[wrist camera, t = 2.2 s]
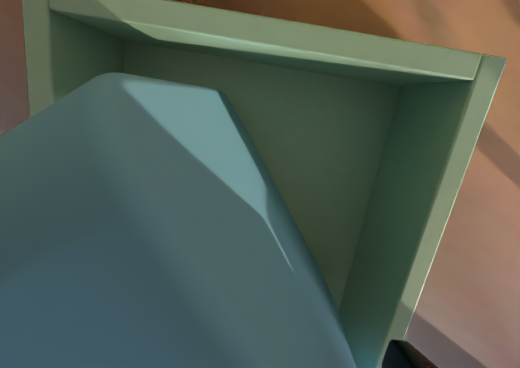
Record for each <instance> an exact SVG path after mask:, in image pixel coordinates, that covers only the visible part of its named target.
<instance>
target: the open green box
mask: <svg viewBox="0 0 520 368" xmlns="http://www.w3.org/2000/svg"><path fill="white" fill-rule="evenodd" d="M22 10H23V25H24V39H25V54H26V68H27V83H28V98H29V112H30V117H32V116H33V115H35V114H36V113H38V112H40V111H41V110H43V109H44V108H46V107H48V106H49V105H51V104H53V103H54V102H56V101H57V100H59V99H61V98H62V97H64V96H65V95H67V94H69V93H70V92H72V91H74V90H75V89H77V88H78V87H80V86H82V85H83V84H85V83H86V82H88V81H90V80H91V79H93V78H95V77H96V76H99V75H102V74H106V73H112V72H114V73H125V74H131V75H137V76H143V77H149V78H154V79H160V80H166V81H172V82H178V83H183V84H189V85H195V86H201V87H207V88H212V89H218V90H220V91H222V92H223V93H224V94H225V96H226V97H227V98H228V100H229V101H230V103H231V104H232V106H233V108H234V109H235V111H236V113H237V114H238V116H239V118H240V120H241V122H242V124H243V125H244V127H245V129H246V131H247V133H248V135H249V137H250V138H251V140H252V142H253V144H254V146H255V148H256V150H257V152H258V153H259V155H260V157H261V159H262V161H263V163H264V165H265V167H266V168H267V170H268V172H269V174H270V176H271V178H272V180H273V181H274V183H275V185H276V187H277V189H278V191H279V193H280V195H281V196H282V198H283V200H284V202H285V204H286V206H287V208H288V209H289V211H290V213H291V215H292V217H293V219H294V221H295V223H296V224H297V226H298V228H299V230H300V232H301V234H302V236H303V237H304V239H305V241H306V243H307V245H308V247H309V249H310V251H311V252H312V254H313V256H314V258H315V260H316V262H317V264H318V266H319V268H320V270H321V272H322V274H323V276H324V278H325V280H326V283H327V285H328V287H329V290H330V292H331V295H332V298H333V301H334V304H335V307H336V309H337V312H338V315H339V318H340V321H341V324H342V327H343V330H344V333H345V336H346V339H347V341H348V344H349V347H350V350H351V353H352V356H353V359H354V362H355V365H356V368H382V361H383V358H384V355H385V352H386V349H387V346H388V343H389V341H390V340H392V339H396V340H404V338H405V335H406V333H407V330H408V327H409V325H410V322H411V319H412V316H413V314H414V311H415V308H416V306H417V303H418V300H419V297H420V295H421V292H422V289H423V287H424V284H425V281H426V278H427V276H428V273H429V270H430V268H431V265H432V262H433V259H434V257H435V254H436V251H437V249H438V246H439V243H440V240H441V238H442V235H443V232H444V230H445V227H446V224H447V221H448V219H449V216H450V213H451V211H452V208H453V205H454V202H455V200H456V197H457V194H458V191H459V189H460V186H461V183H462V181H463V178H464V175H465V172H466V170H467V167H468V164H469V162H470V159H471V156H472V153H473V151H474V148H475V145H476V143H477V140H478V137H479V134H480V132H481V129H482V126H483V124H484V121H485V118H486V115H487V113H488V110H489V107H490V105H491V102H492V99H493V96H494V94H495V91H496V88H497V86H498V83H499V80H500V77H501V75H502V72H503V69H504V67H505V64H506V61H507V59H506V58H504V57H499V56H493V55H487V54H483V55H482V54H480V53H476V52H470V51H464V50H459V49H453V48H447V47H441V46H435V45H429V44H424V43H418V42H412V41H406V40H400V39H395V38H389V37H383V36H377V35H371V34H366V33H360V32H354V31H348V30H342V29H336V28H331V27H325V26H319V25H313V24H307V23H302V22H296V21H290V20H284V19H278V18H273V17H267V16H261V15H255V14H249V13H243V12H238V11H232V10H226V9H220V8H214V7H209V6H203V5H197V4H191V3H185V2H179V1H174V0H22Z"/></svg>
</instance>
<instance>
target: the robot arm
mask: <svg viewBox="0 0 520 368" xmlns="http://www.w3.org/2000/svg"><path fill="white" fill-rule="evenodd" d="M382 368H438V367H437V366H436V365H434V364H433V363H432V362H431V361H430V360H428V359H427V358H426V357H425V356H424V355H423V354H421V353H420V352H419V351H418V350H417V349H415V348H414V347H413V346H412V345H411V344H410V343H408V342H407V341H404V340H396V339H392V340H390V341H389V343H388V346H387V349H386V352H385V355H384V358H383V361H382Z"/></svg>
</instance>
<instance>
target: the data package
mask: <svg viewBox="0 0 520 368" xmlns="http://www.w3.org/2000/svg"><path fill="white" fill-rule="evenodd" d="M0 368H356V365H355V362H354V359H353V356H352V353H351V350H350V347H349V344H348V341H347V339H346V336H345V333H344V330H343V327H342V324H341V321H340V318H339V315H338V312H337V309H336V307H335V304H334V301H333V298H332V295H331V292H330V290H329V287H328V285H327V283H326V280H325V278H324V276H323V274H322V272H321V270H320V268H319V266H318V264H317V262H316V260H315V258H314V256H313V254H312V252H311V251H310V249H309V247H308V245H307V243H306V241H305V239H304V237H303V236H302V234H301V232H300V230H299V228H298V226H297V224H296V223H295V221H294V219H293V217H292V215H291V213H290V211H289V209H288V208H287V206H286V204H285V202H284V200H283V198H282V196H281V195H280V193H279V191H278V189H277V187H276V185H275V183H274V181H273V180H272V178H271V176H270V174H269V172H268V170H267V168H266V167H265V165H264V163H263V161H262V159H261V157H260V155H259V153H258V152H257V150H256V148H255V146H254V144H253V142H252V140H251V138H250V137H249V135H248V133H247V131H246V129H245V127H244V125H243V124H242V122H241V120H240V118H239V116H238V114H237V113H236V111H235V109H234V108H233V106H232V104H231V103H230V101H229V100H228V98H227V97H226V96H225V94H224V93H223V92H222V91H220V90H218V89H212V88H207V87H201V86H195V85H189V84H183V83H178V82H172V81H166V80H160V79H154V78H149V77H143V76H137V75H131V74H125V73H114V72H112V73H106V74H102V75H99V76H96V77H95V78H93V79H91V80H90V81H88V82H86V83H85V84H83V85H82V86H80V87H78V88H77V89H75V90H74V91H72V92H70V93H69V94H67V95H65V96H64V97H62V98H61V99H59V100H57V101H56V102H54V103H53V104H51V105H49V106H48V107H46V108H44V109H43V110H41V111H40V112H38V113H36V114H35V115H33V116H32V117H30V118H28V119H27V120H25V121H23V122H22V123H20V124H19V125H17V126H15V127H14V128H12V129H11V130H9V131H7V132H6V133H4V134H2V135H1V136H0Z"/></svg>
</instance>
